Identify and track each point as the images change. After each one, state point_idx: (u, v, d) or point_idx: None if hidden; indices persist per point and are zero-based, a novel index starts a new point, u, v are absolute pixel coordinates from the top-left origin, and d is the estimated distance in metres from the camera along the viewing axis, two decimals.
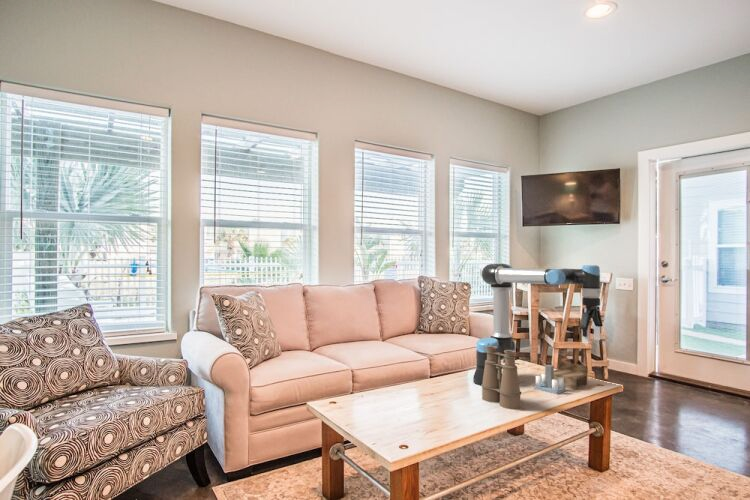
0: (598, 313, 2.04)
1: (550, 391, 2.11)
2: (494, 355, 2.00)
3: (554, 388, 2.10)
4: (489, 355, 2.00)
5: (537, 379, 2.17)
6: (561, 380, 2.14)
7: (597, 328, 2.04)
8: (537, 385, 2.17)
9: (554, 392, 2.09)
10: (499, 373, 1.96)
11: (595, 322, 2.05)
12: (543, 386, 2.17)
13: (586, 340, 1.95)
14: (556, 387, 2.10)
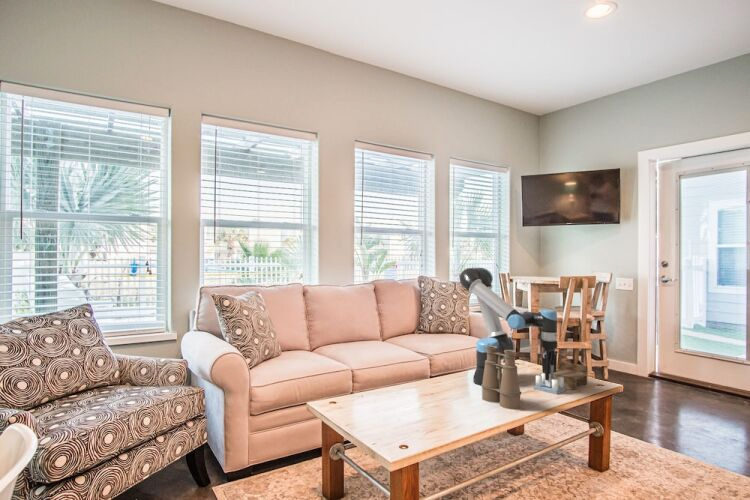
0: (555, 357, 2.19)
1: (550, 391, 2.11)
2: (494, 355, 2.00)
3: (554, 388, 2.10)
4: (489, 355, 2.00)
5: (537, 379, 2.17)
6: (561, 380, 2.14)
7: None
8: (537, 385, 2.17)
9: (554, 392, 2.09)
10: (499, 373, 1.96)
11: None
12: (543, 386, 2.17)
13: (548, 383, 2.14)
14: (556, 387, 2.10)
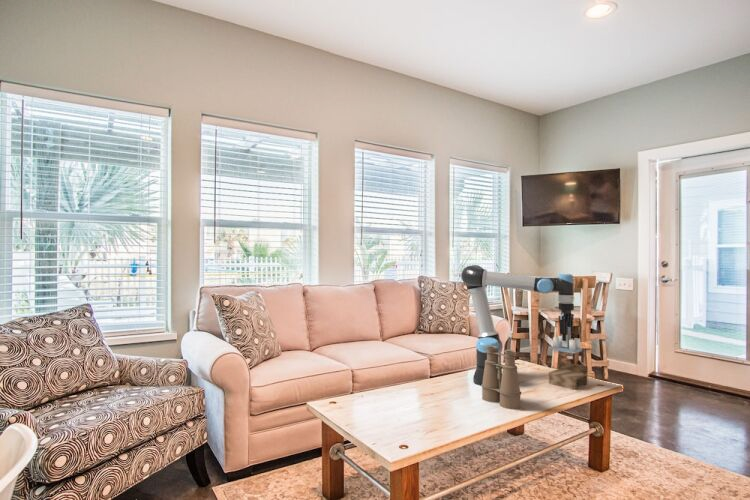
0: (571, 319, 2.28)
1: (567, 350, 2.19)
2: (494, 355, 2.00)
3: (571, 347, 2.18)
4: (489, 355, 2.00)
5: (555, 340, 2.25)
6: (578, 340, 2.22)
7: None
8: (555, 346, 2.25)
9: (571, 351, 2.18)
10: (499, 373, 1.96)
11: None
12: (560, 347, 2.26)
13: (565, 344, 2.23)
14: (573, 346, 2.18)
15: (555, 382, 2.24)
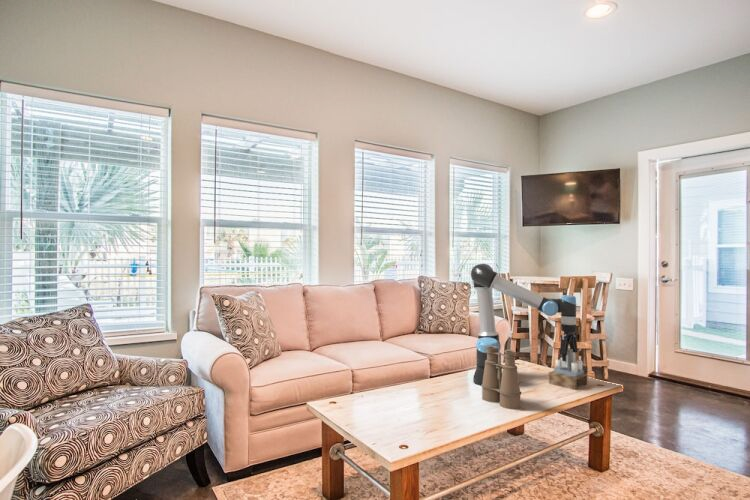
0: (574, 339, 2.30)
1: (570, 373, 2.21)
2: (494, 355, 2.00)
3: (574, 370, 2.20)
4: (489, 355, 2.00)
5: (557, 362, 2.27)
6: (580, 363, 2.24)
7: None
8: (557, 368, 2.27)
9: (574, 374, 2.20)
10: (499, 373, 1.96)
11: (571, 347, 2.30)
12: (563, 369, 2.28)
13: (565, 364, 2.23)
14: (576, 369, 2.20)
15: (555, 382, 2.24)
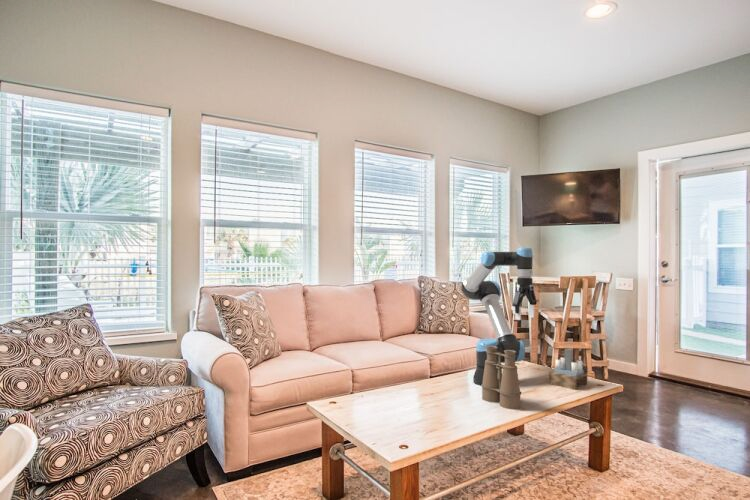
0: (532, 292, 2.20)
1: (570, 373, 2.21)
2: (494, 355, 2.00)
3: (574, 370, 2.20)
4: (489, 355, 2.00)
5: (557, 362, 2.27)
6: (580, 363, 2.24)
7: (531, 306, 2.20)
8: (557, 368, 2.27)
9: (574, 374, 2.20)
10: (499, 373, 1.96)
11: (529, 301, 2.21)
12: (563, 369, 2.28)
13: (518, 316, 2.11)
14: (576, 369, 2.20)
15: (555, 382, 2.24)
